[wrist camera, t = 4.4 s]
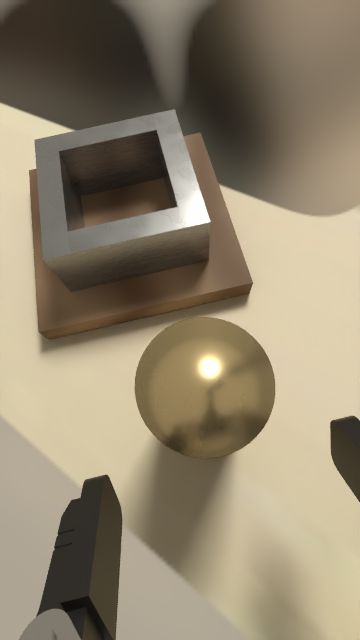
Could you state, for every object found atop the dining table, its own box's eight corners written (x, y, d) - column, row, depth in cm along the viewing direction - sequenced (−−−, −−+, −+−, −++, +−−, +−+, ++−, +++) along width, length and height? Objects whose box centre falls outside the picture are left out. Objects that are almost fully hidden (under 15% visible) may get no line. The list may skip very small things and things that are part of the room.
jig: (200, 148, 27) (200, 80, 22) (249, 293, 22) (263, 246, 17) (38, 184, 27) (-1, 123, 22) (49, 339, 22) (2, 306, 17)
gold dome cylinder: (229, 369, 20) (250, 304, 11) (249, 442, 19) (295, 438, 9) (160, 385, 20) (124, 333, 11) (175, 460, 19) (148, 473, 9)
